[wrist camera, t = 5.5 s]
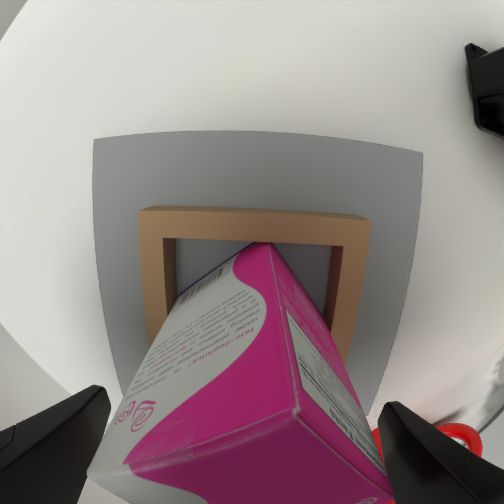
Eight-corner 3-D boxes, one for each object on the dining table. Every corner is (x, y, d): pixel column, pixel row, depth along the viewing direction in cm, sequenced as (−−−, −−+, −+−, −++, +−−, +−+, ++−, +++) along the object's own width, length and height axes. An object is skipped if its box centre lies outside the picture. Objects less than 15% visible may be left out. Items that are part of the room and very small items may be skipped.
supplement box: (242, 367, 16) (225, 549, 5) (178, 292, 15) (68, 467, 4) (327, 318, 15) (400, 504, 4) (266, 230, 14) (286, 402, 3)
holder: (417, 153, 13) (443, 151, 11) (365, 409, 18) (375, 433, 16) (99, 140, 14) (73, 135, 11) (127, 397, 18) (115, 420, 16)
